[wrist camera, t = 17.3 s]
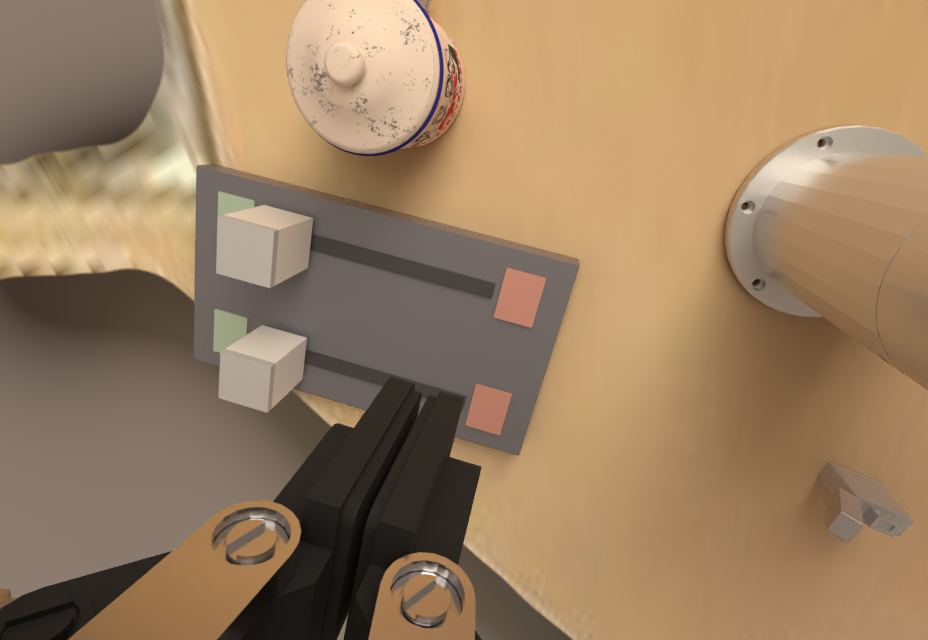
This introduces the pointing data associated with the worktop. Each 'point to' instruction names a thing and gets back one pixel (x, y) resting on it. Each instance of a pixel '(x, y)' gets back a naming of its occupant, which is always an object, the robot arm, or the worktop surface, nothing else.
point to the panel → (391, 304)
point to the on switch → (263, 245)
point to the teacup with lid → (374, 74)
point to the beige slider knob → (261, 368)
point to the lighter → (859, 504)
